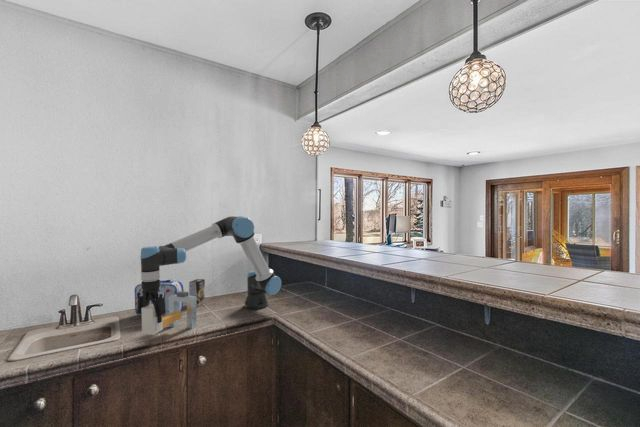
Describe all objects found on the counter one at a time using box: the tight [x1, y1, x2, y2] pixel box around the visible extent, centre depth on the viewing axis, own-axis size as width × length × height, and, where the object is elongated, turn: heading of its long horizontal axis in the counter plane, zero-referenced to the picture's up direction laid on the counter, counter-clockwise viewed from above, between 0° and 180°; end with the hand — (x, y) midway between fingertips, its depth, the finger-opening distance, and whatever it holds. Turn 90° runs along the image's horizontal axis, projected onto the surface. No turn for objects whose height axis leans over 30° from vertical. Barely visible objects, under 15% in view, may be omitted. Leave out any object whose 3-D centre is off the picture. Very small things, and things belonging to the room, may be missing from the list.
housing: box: [168, 291, 197, 330], centre depth 162 cm, size 14×4×18 cm, turn 78°
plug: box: [141, 304, 182, 336], centre depth 147 cm, size 21×6×12 cm, turn 167°
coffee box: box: [188, 278, 206, 308], centre depth 200 cm, size 9×6×16 cm
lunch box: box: [134, 279, 185, 317], centre depth 178 cm, size 28×10×22 cm, turn 89°
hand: (151, 328), depth 140 cm, fingers closed on plug, 6 cm apart
